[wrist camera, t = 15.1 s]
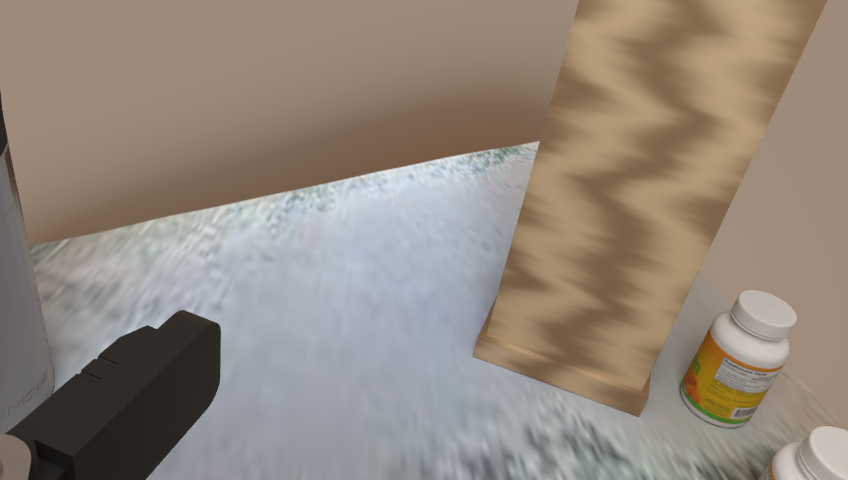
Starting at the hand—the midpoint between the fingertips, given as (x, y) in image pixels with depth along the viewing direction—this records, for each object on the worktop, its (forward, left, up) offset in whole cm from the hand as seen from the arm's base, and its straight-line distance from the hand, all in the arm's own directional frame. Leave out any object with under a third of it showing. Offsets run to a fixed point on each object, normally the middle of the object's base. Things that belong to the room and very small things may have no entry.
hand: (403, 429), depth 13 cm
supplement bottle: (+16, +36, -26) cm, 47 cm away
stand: (+4, +38, -26) cm, 46 cm away
